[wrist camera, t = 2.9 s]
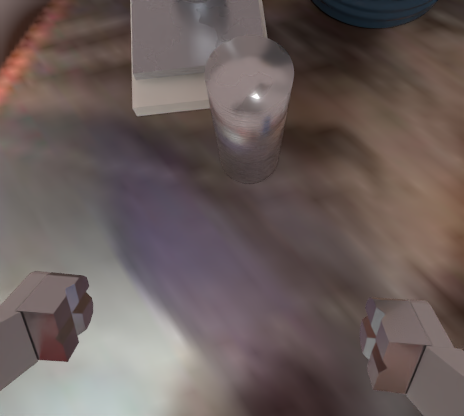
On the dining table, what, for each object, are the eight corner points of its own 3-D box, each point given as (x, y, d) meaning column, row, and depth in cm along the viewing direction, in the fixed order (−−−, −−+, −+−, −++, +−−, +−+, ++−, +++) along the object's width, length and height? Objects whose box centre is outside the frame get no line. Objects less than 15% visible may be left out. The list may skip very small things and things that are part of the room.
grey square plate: (250, -38, 31) (250, -54, 30) (265, 70, 28) (266, 58, 27) (135, -24, 31) (130, -39, 30) (138, 85, 28) (132, 73, 27)
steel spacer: (274, 127, 28) (287, 30, 18) (282, 180, 27) (300, 106, 17) (218, 133, 28) (201, 40, 18) (222, 186, 27) (208, 116, 17)
